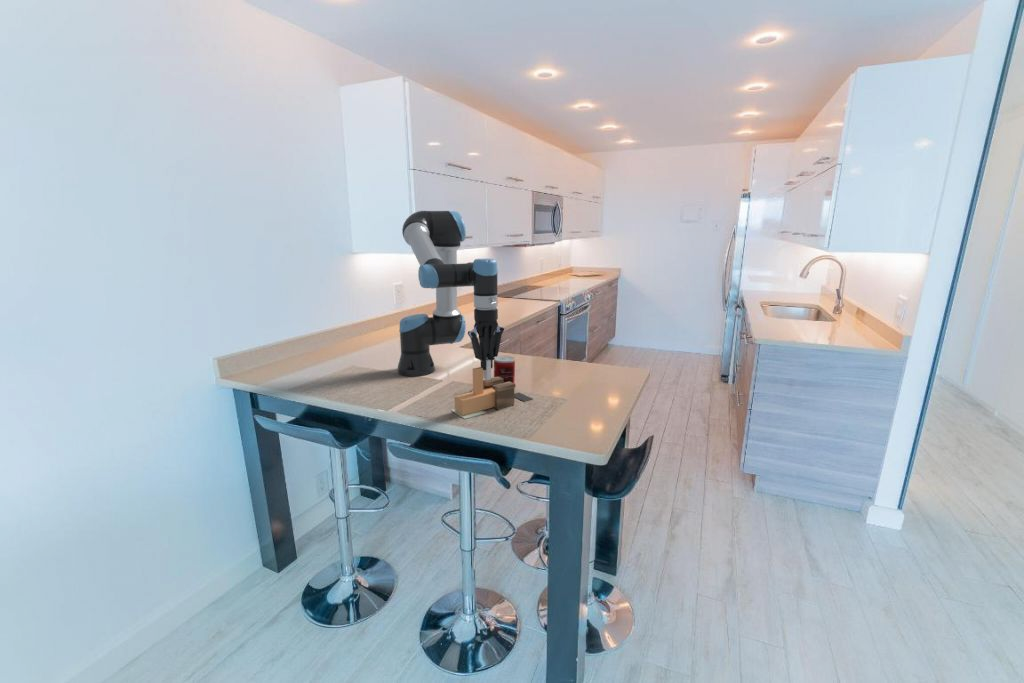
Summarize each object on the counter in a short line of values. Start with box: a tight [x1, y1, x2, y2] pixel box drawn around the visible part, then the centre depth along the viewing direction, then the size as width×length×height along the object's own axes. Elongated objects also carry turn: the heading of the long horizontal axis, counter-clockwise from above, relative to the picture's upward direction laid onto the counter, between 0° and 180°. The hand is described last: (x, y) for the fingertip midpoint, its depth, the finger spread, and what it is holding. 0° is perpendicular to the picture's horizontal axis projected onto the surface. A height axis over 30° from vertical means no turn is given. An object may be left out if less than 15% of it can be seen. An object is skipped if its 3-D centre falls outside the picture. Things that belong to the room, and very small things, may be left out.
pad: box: [450, 408, 487, 420], centre depth 152 cm, size 9×8×1 cm
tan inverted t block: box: [454, 366, 495, 415], centre depth 152 cm, size 5×15×14 cm, turn 127°
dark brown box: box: [483, 376, 516, 410], centre depth 158 cm, size 10×7×8 cm
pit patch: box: [514, 392, 533, 403], centre depth 165 cm, size 8×4×1 cm, turn 37°
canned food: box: [493, 355, 516, 385], centre depth 175 cm, size 8×8×11 cm
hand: (486, 378), depth 154 cm, fingers closed
